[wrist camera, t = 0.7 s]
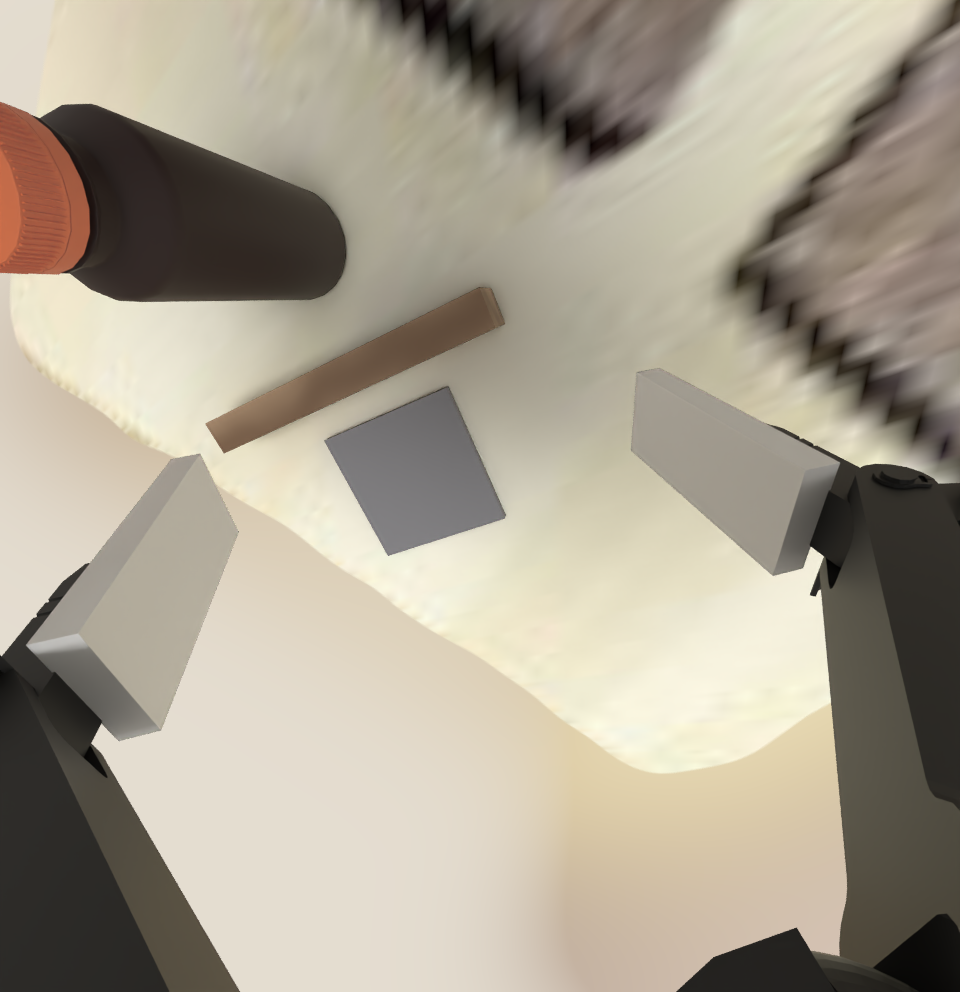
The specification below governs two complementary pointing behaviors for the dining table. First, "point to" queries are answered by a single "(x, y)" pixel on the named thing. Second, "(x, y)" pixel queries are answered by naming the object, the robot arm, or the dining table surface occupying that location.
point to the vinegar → (155, 214)
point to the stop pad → (417, 473)
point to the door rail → (360, 368)
